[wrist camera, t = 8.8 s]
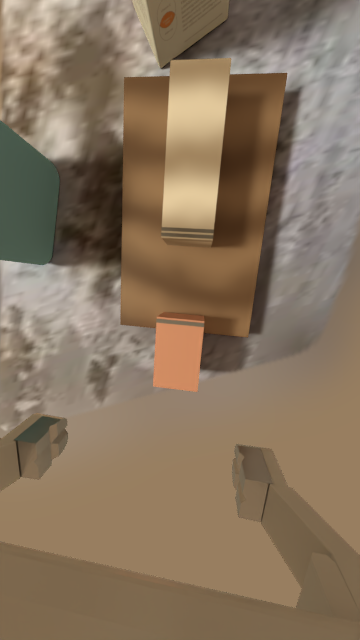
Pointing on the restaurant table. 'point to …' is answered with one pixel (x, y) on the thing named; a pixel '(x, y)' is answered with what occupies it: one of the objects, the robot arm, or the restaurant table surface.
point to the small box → (178, 23)
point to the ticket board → (233, 213)
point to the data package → (26, 201)
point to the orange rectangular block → (178, 351)
